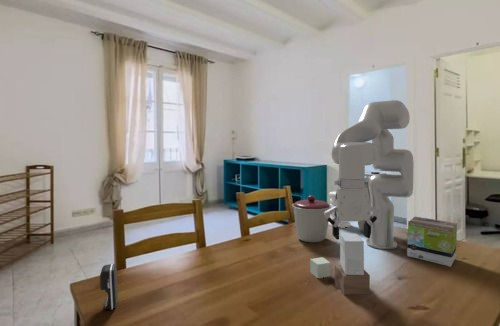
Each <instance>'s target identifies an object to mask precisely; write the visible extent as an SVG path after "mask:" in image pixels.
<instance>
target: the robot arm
mask: <svg viewBox="0 0 500 326" xmlns="http://www.w3.org/2000/svg"><path fill="white" fill-rule="evenodd" d="M410 117H411V116H410V111H409V109H408V108H407V107H406V105H405V104H404V103H403V102H402V101H400V100H394V99H393V100H381V101H372V102H369V103H367V104H366V105H365V106H364V108H363V110H362V112H361V113H360V116H359V118H358V121H357V122H356V123H355V124H353V125H351V126H349V127H348V128H346V129H345V130H343V131H341V132H340V133H339V135H338V136H337V138H336V139H335V141H334V143H333V145H332V149H331V158H332V160H333V162H334V163H336V164H337V165H338V178H337V180H334V181H333V182H334V185H335V186H338V187H336V196H335V205H334V207H332V208H330V209H329V210H327V211H325V212H324V215H325V217H326V219H327V220H328V223H329V222H330V223H331V224H332V227H331V228H332V236H333V237H334V238H335V239H336V240H339V241H340V228H339V227H338V225H339V223H340V222H341V221H342V222H349V223H352V222H358V221H365V223H364V232H363V236H364V237H366V238H367V239H366V242H365V243H366V244H367V245H368V246H369V247H370V248H371V247H372V248H373V249H379V250H394V249H396V248H398V243H397V242H396V241H395V240H394V233H395V232H394V227H395V226H394V225H395V223H394V221H395V206H394V203H393V201H391V199H390V198H389V197H393V198H405V199H406V198H410V197H412V195H413V193H414V168H415V167H414V155H413V153H412V151H410V150H409V149H400V148H399V149H398V148H397V149H395V147H394V136H393V134H392V133H391V131H390V130H403V129H405V128H407V127H408V126H409V124H410ZM370 141H371V142H370ZM371 165H372V168H373V169H374V170H376V171H378V172H398V173H400V174H389V173H377V174H373V175H371V176H370V177H369V183H368V184H369V191H370V199H369V193H368V189H367V188H365V178H366V176H365V172H366V171H365V170H366V169H365V166H371ZM332 213H334V215H335V218H334V219H333V220H332V219H331V217H330V215H331V214H332Z"/></svg>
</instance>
